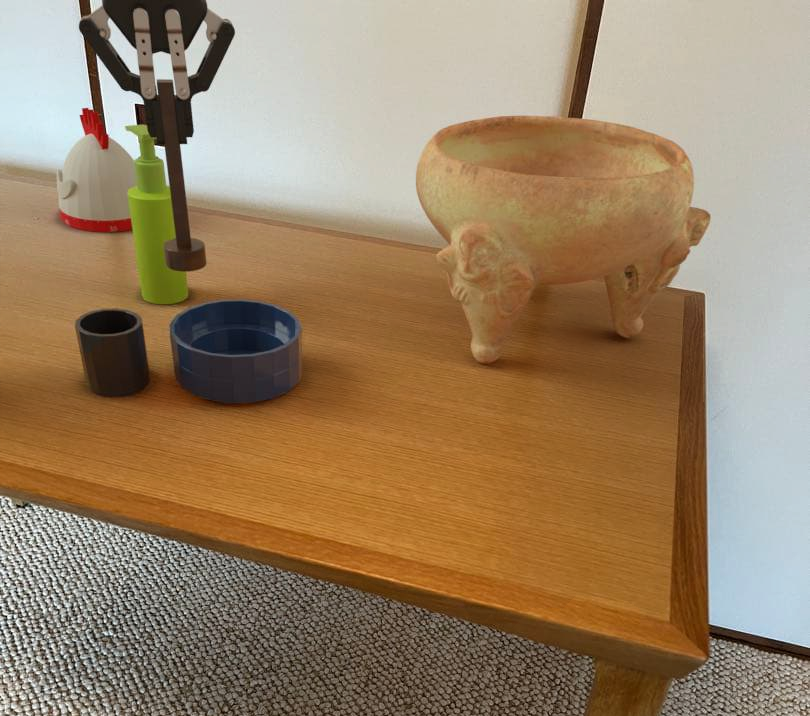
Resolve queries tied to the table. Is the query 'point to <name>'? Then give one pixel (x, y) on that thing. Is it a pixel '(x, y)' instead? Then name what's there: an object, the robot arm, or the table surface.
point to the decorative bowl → (555, 215)
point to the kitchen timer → (96, 181)
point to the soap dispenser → (153, 225)
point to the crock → (113, 352)
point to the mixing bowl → (236, 350)
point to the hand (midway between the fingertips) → (171, 141)
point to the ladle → (177, 190)
